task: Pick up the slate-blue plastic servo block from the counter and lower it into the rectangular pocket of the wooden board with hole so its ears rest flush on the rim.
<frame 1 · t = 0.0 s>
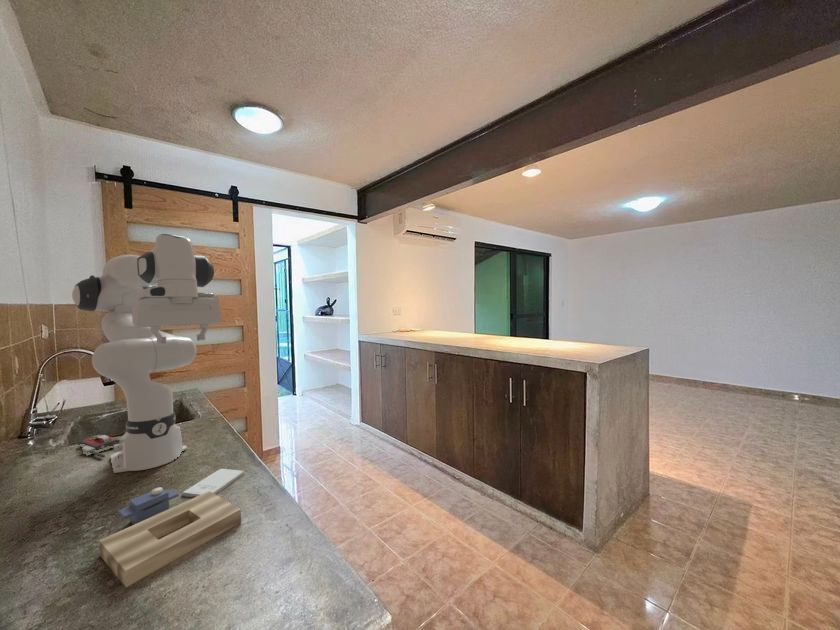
hand: (182, 342, 91), 39 cm above the countertop, tool pointing down, fingers open, 8 cm apart
external hard drive: (214, 487, 90), on the countertop
servo: (150, 517, 76), on the countertop
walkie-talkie: (101, 451, 112), on the countertop
wooden board with hole: (175, 537, 69), on the countertop
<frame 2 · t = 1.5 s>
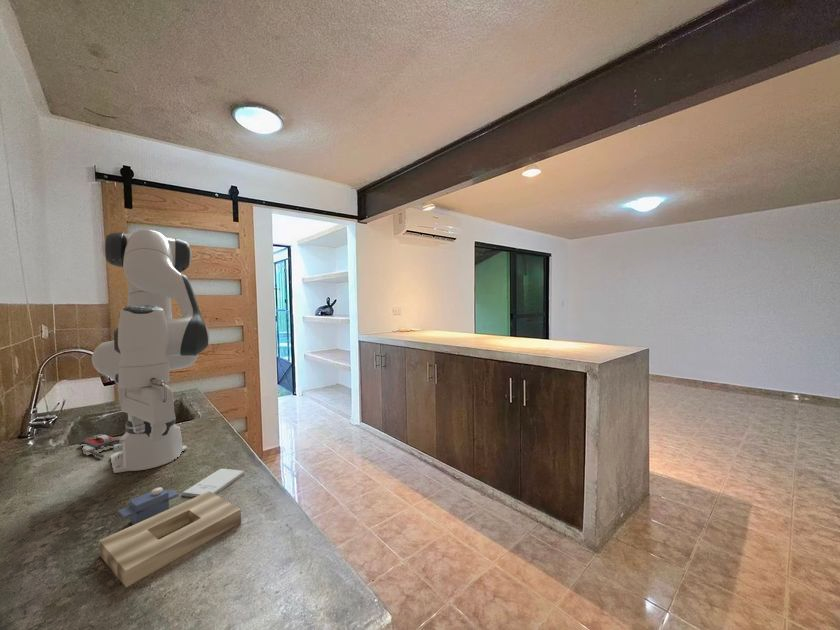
hand: (147, 436, 75), 19 cm above the countertop, tool pointing down, fingers open, 8 cm apart
nothing on the countertop moved.
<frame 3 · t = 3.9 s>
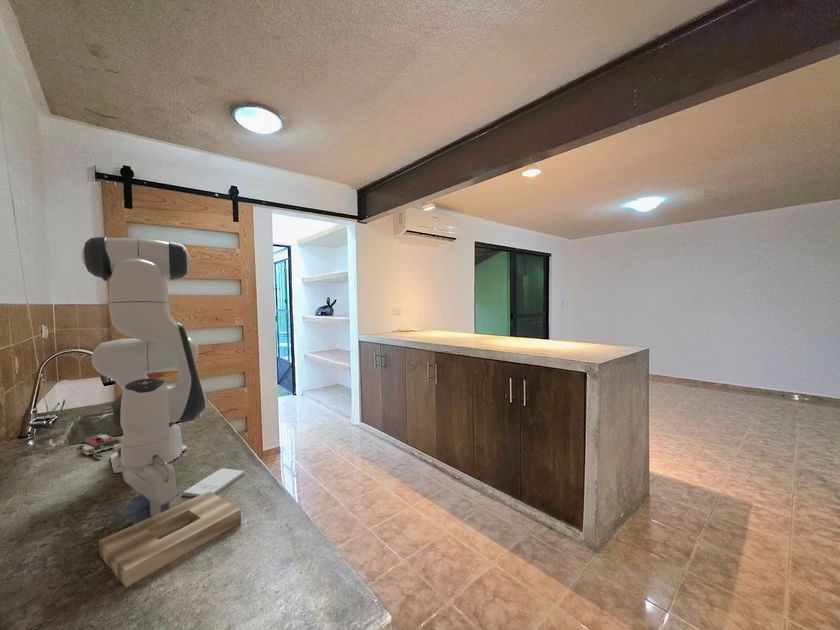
hand: (149, 510, 76), 2 cm above the countertop, tool pointing down, fingers closed on servo, 4 cm apart
servo: (150, 517, 76), on the countertop, touching gripper
everything else where it was.
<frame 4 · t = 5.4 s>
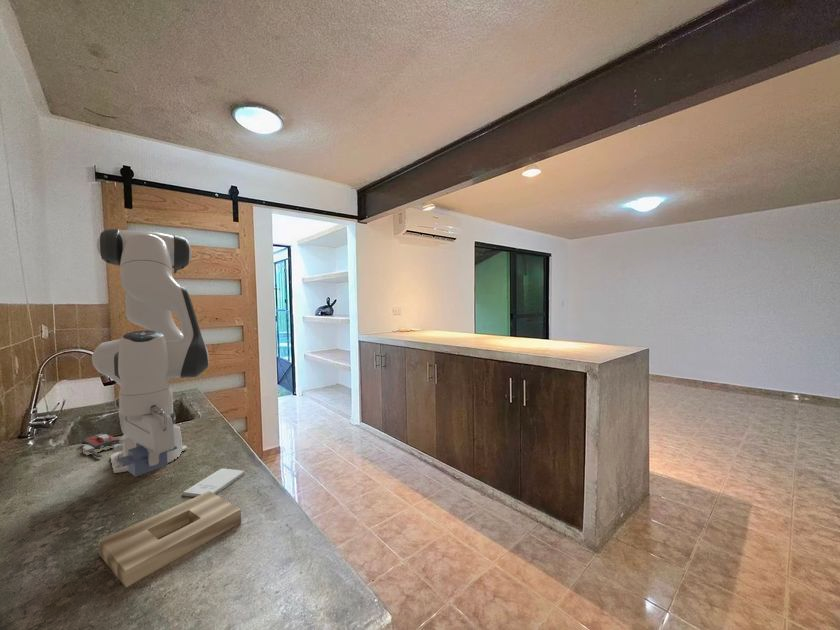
hand: (148, 461, 76), 13 cm above the countertop, tool pointing down, fingers closed on servo, 4 cm apart
servo: (148, 468, 76), point 11 cm above the countertop, touching gripper
everything else where it was.
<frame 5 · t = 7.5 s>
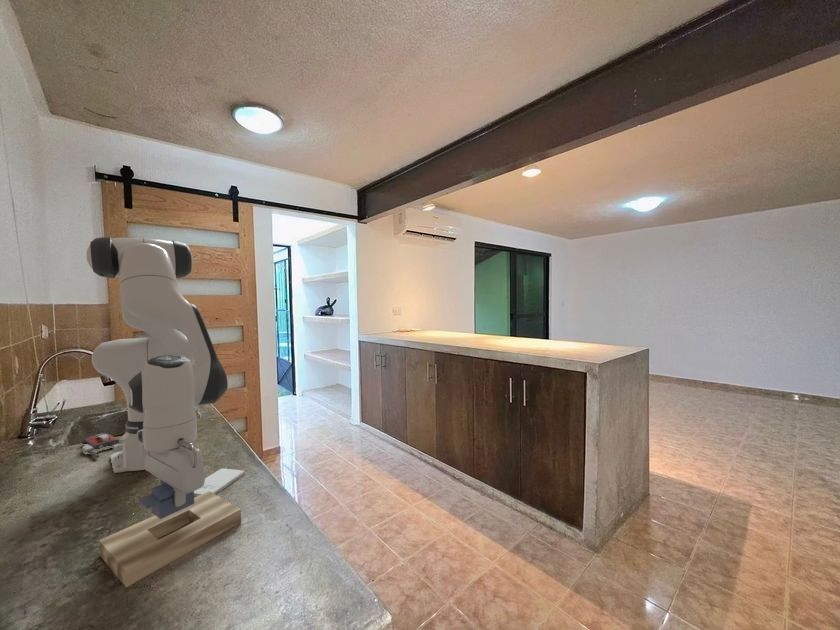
hand: (173, 500, 68), 8 cm above the countertop, tool pointing down, fingers closed on servo, 4 cm apart
servo: (173, 508, 68), point 7 cm above the countertop, touching gripper
everything else where it was.
when the fingers open (4 cm above the countertop, at t = 9.1 s): servo drops 2 cm, resting on wooden board with hole.
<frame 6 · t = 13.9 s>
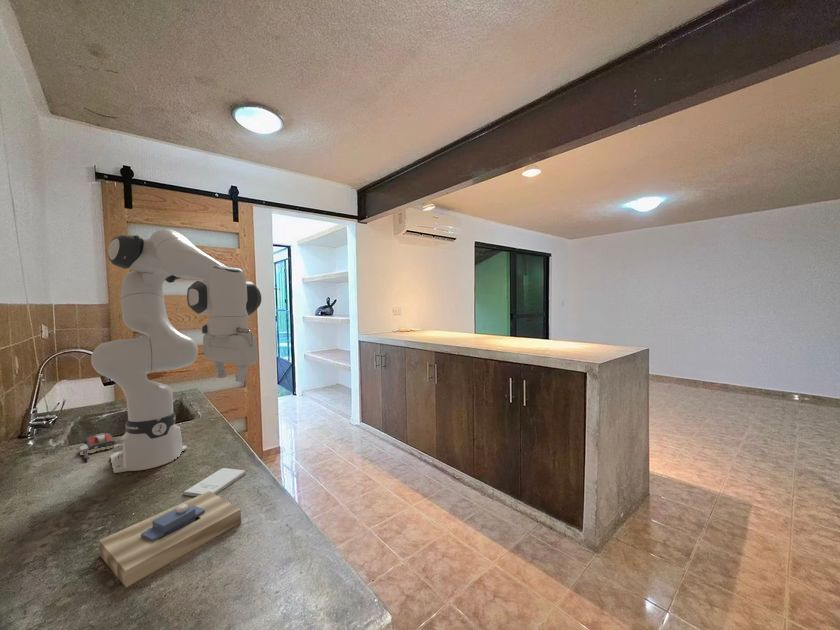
hand: (230, 379, 87), 29 cm above the countertop, tool pointing down, fingers open, 8 cm apart
servo: (175, 538, 69), resting on wooden board with hole
at the end: servo 0.0 cm off-centre on the wooden board with hole, point 0.0 cm above the wooden board with hole's base; servo tilted 0°; the gripper is holding nothing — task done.
